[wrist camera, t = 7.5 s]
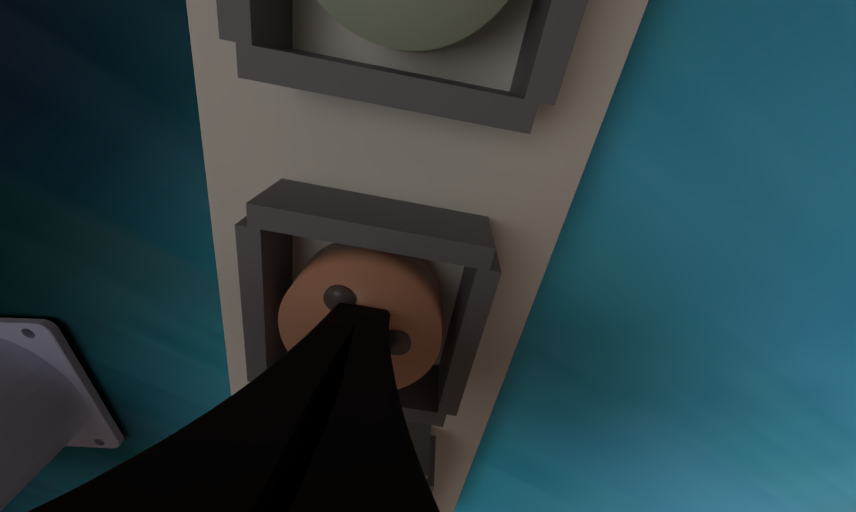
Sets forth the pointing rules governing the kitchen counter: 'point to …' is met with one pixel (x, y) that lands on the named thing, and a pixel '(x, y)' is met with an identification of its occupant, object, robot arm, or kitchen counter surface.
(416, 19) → the one pip button
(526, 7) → the button panel
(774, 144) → the kitchen counter surface
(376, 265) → the three pip button
